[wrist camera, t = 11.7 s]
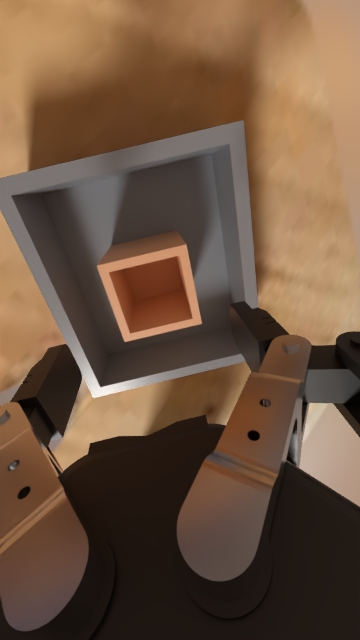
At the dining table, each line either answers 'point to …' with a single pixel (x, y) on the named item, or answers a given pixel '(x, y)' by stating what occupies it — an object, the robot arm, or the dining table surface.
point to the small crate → (150, 285)
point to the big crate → (131, 224)
